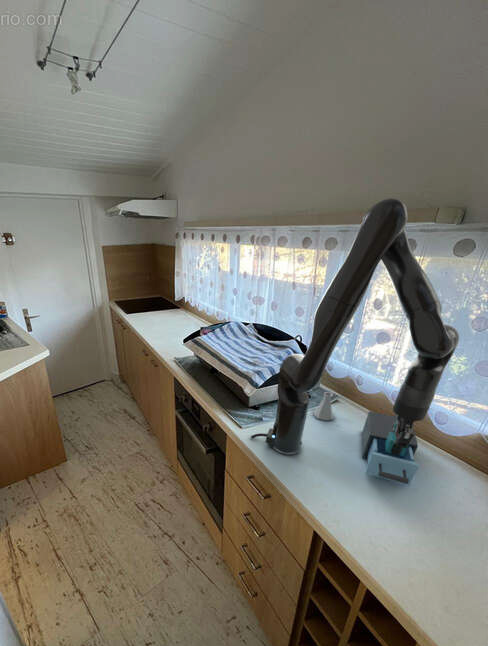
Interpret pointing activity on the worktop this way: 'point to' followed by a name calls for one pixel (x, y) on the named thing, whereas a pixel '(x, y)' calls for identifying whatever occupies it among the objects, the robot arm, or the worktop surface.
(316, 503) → the worktop surface
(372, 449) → the light blue drawer box
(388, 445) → the teal block
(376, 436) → the grey hollow box
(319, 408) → the flask
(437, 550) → the worktop surface
